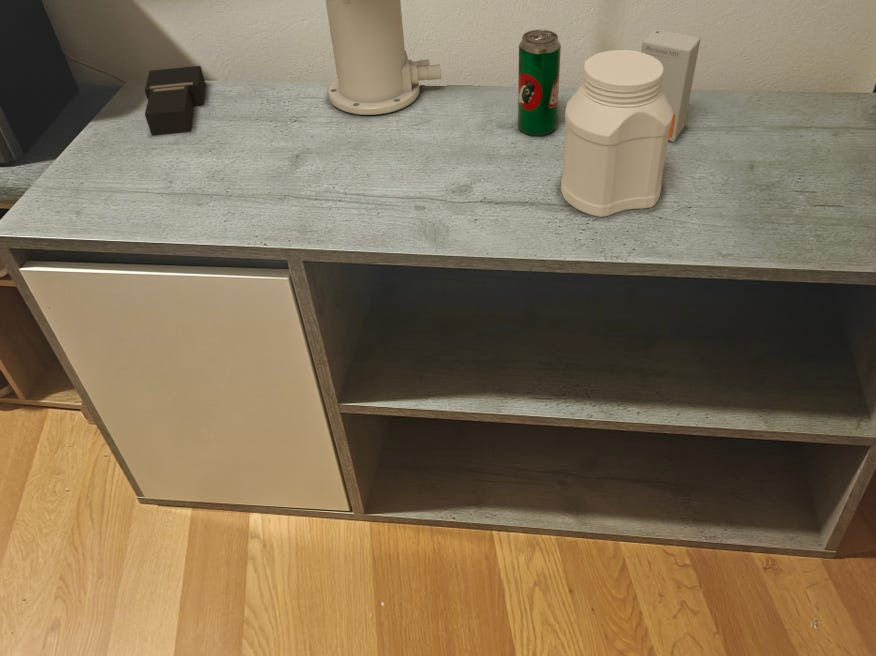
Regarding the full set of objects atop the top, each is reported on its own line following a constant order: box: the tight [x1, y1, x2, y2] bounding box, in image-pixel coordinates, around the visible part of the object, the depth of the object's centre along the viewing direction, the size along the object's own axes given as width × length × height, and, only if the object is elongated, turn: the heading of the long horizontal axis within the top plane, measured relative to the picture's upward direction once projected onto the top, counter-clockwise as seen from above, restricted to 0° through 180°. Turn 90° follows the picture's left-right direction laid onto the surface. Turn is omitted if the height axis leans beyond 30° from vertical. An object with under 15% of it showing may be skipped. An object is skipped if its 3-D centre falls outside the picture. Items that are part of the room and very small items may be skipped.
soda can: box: [517, 29, 562, 137], centre depth 100 cm, size 5×5×12 cm
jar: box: [560, 49, 673, 218], centre depth 89 cm, size 12×10×15 cm
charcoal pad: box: [144, 65, 207, 107], centre depth 112 cm, size 7×6×3 cm
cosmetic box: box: [640, 28, 701, 143], centre depth 99 cm, size 6×4×12 cm
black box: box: [144, 86, 195, 136], centre depth 107 cm, size 5×7×3 cm
